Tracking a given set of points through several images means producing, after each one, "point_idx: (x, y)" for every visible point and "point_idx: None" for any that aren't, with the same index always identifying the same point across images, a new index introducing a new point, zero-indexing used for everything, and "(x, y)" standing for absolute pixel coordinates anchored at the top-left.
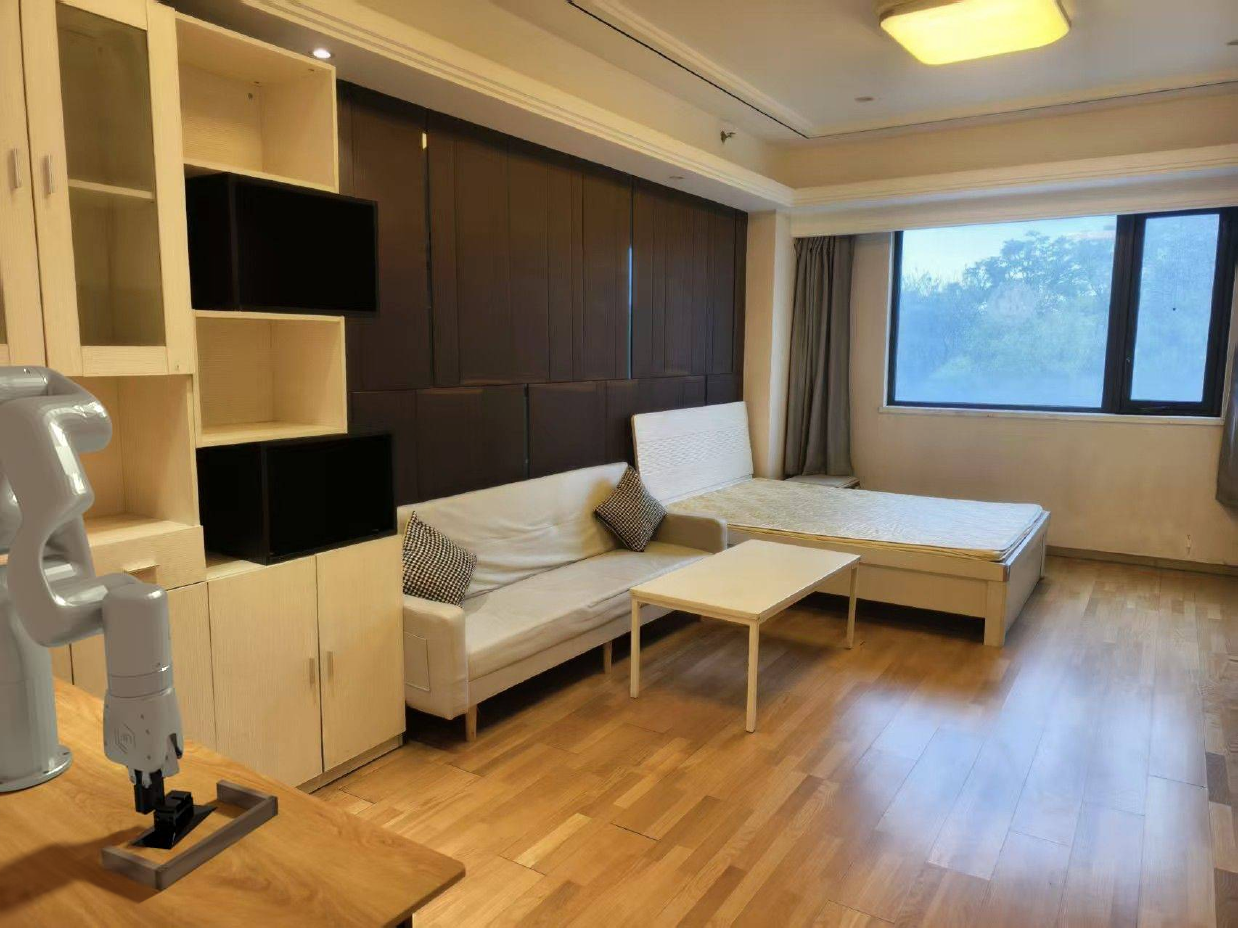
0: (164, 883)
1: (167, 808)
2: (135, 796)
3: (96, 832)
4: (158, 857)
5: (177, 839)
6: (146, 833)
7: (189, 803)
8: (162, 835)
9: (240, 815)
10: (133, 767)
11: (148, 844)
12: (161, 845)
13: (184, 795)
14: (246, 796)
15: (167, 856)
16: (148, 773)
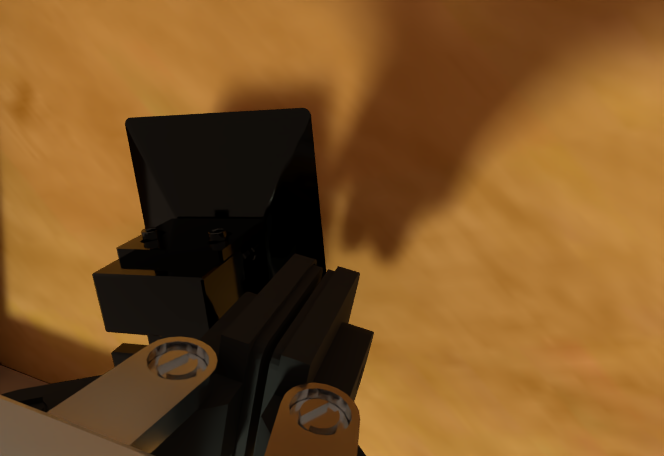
0: None
1: (137, 267)
2: (324, 314)
3: (563, 171)
4: (125, 56)
5: (147, 185)
6: (298, 201)
7: None
8: (213, 194)
9: None
10: (7, 412)
11: (230, 129)
12: (176, 136)
13: None
14: None
15: (99, 73)
16: (53, 408)
